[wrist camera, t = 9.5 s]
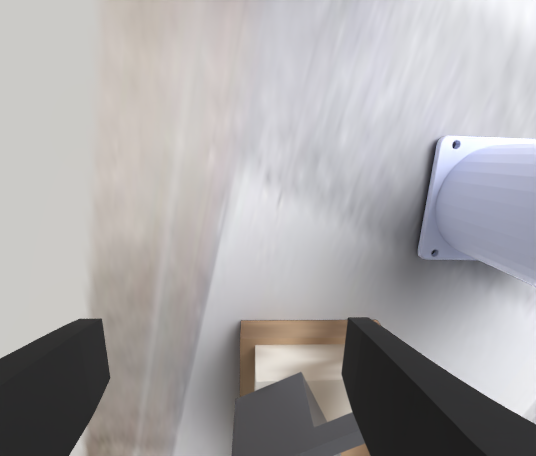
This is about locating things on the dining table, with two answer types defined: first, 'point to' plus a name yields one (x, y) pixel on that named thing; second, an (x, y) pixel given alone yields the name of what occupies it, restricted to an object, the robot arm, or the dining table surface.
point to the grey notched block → (289, 423)
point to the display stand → (298, 361)
